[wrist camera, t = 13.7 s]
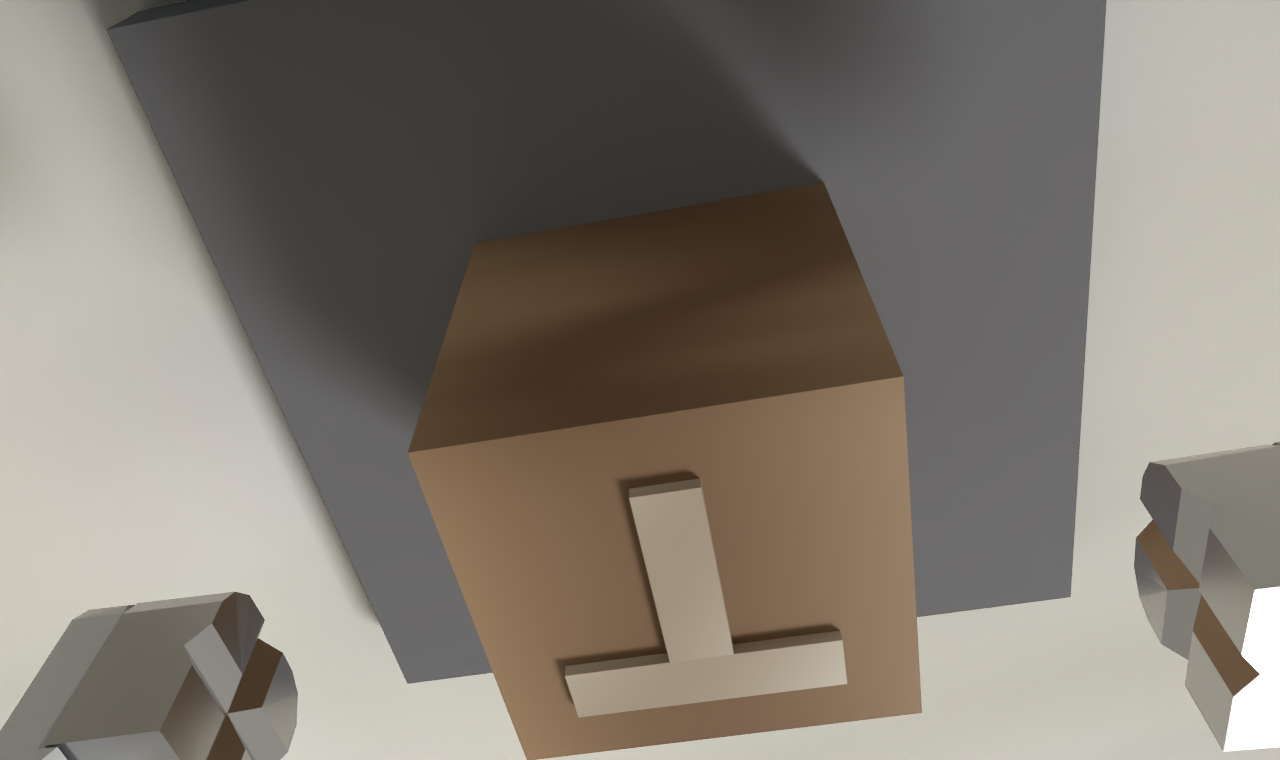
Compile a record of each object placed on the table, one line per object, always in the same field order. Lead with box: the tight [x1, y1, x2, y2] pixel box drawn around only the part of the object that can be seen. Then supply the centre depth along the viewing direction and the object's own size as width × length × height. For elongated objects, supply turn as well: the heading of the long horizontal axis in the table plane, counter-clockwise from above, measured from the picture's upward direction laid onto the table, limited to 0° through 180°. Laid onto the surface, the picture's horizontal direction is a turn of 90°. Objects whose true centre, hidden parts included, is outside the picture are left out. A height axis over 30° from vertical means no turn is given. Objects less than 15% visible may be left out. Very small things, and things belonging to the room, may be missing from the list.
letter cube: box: [408, 182, 922, 760], centre depth 11 cm, size 4×4×4 cm
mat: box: [107, 0, 1106, 683], centre depth 13 cm, size 10×10×1 cm
